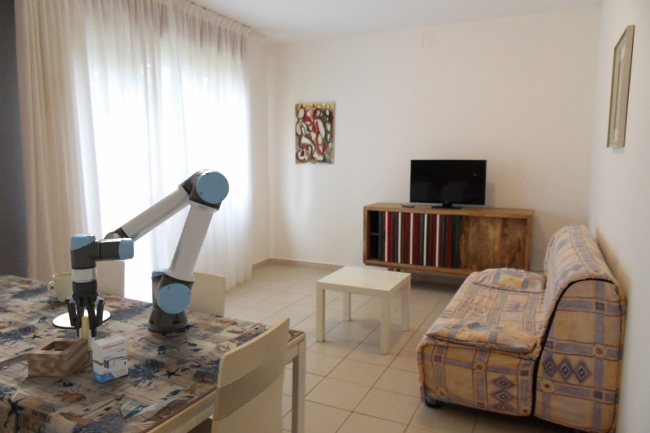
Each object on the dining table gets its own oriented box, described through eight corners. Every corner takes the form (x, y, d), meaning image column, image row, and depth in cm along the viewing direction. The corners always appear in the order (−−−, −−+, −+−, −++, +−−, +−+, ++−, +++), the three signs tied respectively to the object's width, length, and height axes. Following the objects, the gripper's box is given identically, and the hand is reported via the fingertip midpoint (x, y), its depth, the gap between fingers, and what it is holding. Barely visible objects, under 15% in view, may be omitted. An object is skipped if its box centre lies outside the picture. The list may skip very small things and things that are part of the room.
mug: (54, 298, 212) (53, 273, 210) (78, 296, 215) (76, 272, 213) (47, 305, 201) (46, 279, 200) (72, 303, 204) (71, 278, 203)
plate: (108, 326, 180) (108, 323, 180) (48, 332, 172) (48, 329, 172) (112, 309, 199) (111, 306, 199) (57, 314, 192) (57, 311, 191)
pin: (93, 348, 158) (92, 315, 157) (89, 351, 155) (88, 317, 154) (85, 348, 158) (84, 314, 157) (81, 351, 155) (79, 317, 154)
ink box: (100, 384, 134) (99, 346, 132) (92, 378, 137) (91, 341, 135) (128, 373, 140) (127, 337, 139) (120, 368, 143) (119, 333, 142)
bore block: (88, 359, 150) (87, 338, 149) (67, 376, 138) (66, 354, 137) (52, 358, 150) (51, 337, 149) (28, 375, 138) (26, 353, 137)
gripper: (112, 277, 157) (114, 342, 160) (68, 276, 157) (71, 340, 160) (101, 283, 150) (104, 351, 153) (55, 281, 150) (58, 349, 153)
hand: (87, 345), depth 157 cm, fingers closed on pin, 2 cm apart
